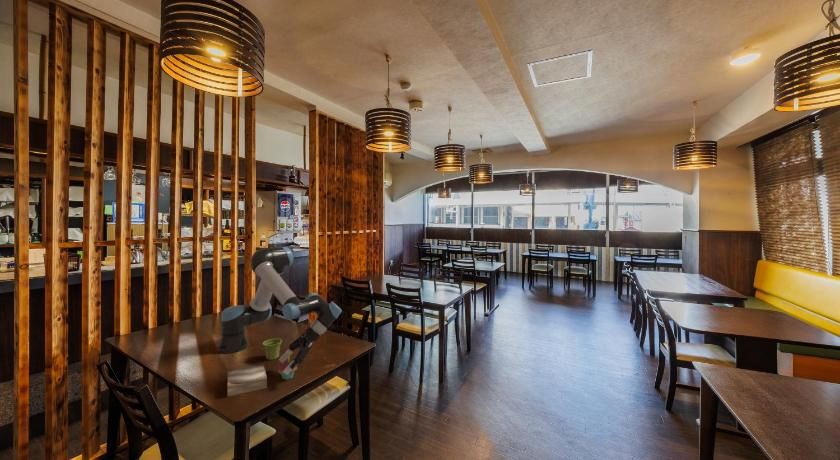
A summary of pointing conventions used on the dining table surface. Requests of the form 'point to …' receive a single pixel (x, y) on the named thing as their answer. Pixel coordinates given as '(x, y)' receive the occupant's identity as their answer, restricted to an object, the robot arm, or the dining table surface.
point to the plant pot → (272, 348)
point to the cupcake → (284, 365)
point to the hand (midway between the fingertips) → (282, 367)
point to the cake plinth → (246, 380)
